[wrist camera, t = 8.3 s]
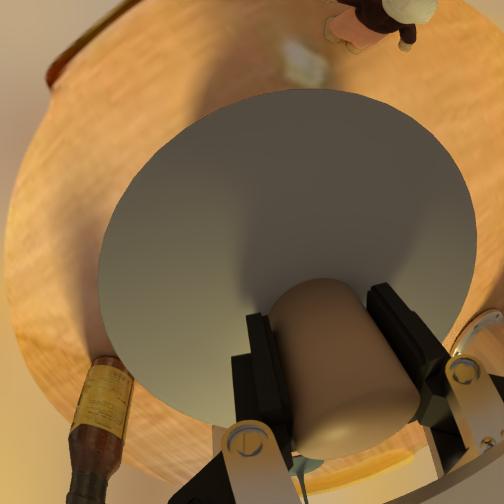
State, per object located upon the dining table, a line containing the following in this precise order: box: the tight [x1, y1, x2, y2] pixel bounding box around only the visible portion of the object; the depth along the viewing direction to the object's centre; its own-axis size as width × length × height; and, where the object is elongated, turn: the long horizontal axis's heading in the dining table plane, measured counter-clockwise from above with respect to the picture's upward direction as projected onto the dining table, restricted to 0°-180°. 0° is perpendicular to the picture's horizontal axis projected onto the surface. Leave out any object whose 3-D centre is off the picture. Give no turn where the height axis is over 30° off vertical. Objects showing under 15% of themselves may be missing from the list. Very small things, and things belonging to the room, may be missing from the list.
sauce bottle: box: [66, 357, 134, 504], centre depth 26 cm, size 7×6×20 cm
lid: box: [97, 89, 477, 460], centre depth 10 cm, size 16×16×6 cm
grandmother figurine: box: [323, 0, 438, 54], centre depth 15 cm, size 8×4×13 cm, turn 78°
